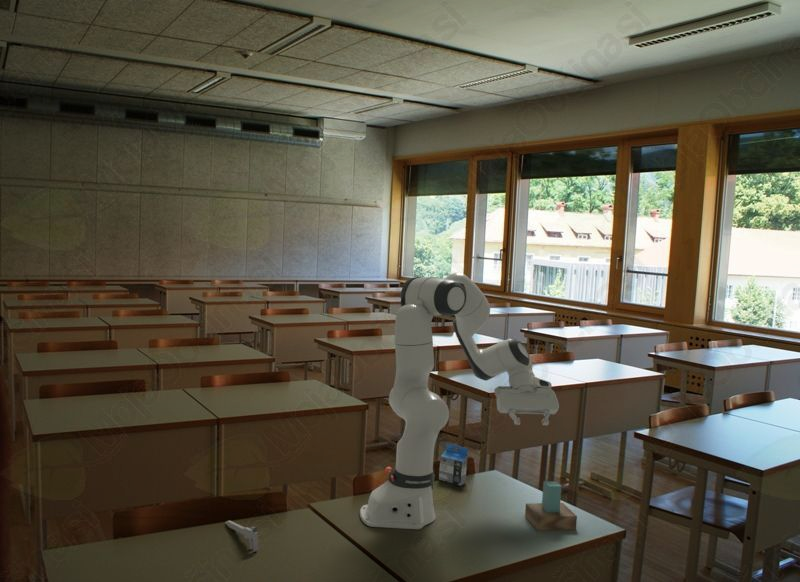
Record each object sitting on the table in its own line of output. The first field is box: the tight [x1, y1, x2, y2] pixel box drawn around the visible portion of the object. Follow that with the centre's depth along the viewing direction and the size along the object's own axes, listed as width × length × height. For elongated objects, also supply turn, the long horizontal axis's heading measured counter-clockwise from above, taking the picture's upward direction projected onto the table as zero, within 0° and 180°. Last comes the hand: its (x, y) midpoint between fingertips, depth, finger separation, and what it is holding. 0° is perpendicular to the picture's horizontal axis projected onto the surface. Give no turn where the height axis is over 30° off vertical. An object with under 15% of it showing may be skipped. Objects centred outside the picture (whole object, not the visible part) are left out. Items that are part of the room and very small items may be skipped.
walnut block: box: [524, 502, 578, 531], centre depth 203 cm, size 12×10×4 cm
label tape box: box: [438, 442, 468, 486], centre depth 233 cm, size 9×4×12 cm, turn 55°
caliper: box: [224, 520, 259, 553], centre depth 182 cm, size 20×1×6 cm, turn 36°
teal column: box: [541, 480, 562, 513], centre depth 202 cm, size 4×4×8 cm
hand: (532, 424), depth 215 cm, fingers open, 8 cm apart
